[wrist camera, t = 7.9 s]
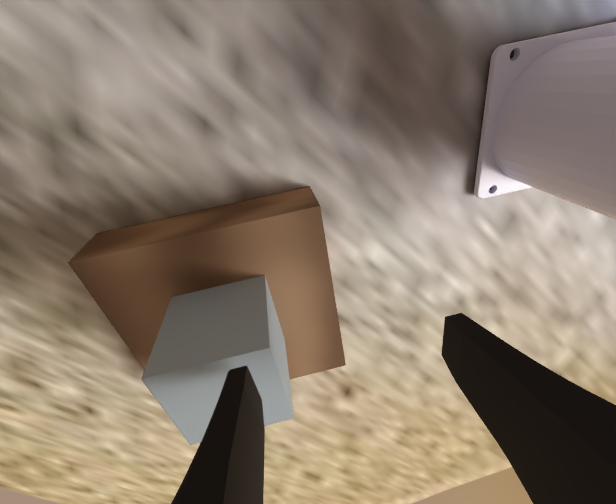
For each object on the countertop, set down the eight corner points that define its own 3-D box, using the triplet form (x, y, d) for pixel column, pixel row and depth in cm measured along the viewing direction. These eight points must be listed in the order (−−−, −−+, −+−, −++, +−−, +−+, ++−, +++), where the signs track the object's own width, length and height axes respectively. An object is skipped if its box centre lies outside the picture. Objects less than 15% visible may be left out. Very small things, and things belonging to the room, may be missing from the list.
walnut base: (309, 186, 17) (319, 205, 14) (335, 333, 23) (345, 365, 21) (96, 233, 16) (68, 262, 14) (181, 371, 23) (172, 408, 20)
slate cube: (264, 275, 16) (269, 347, 12) (284, 339, 19) (294, 418, 14) (171, 297, 16) (141, 379, 11) (204, 359, 18) (190, 444, 14)
